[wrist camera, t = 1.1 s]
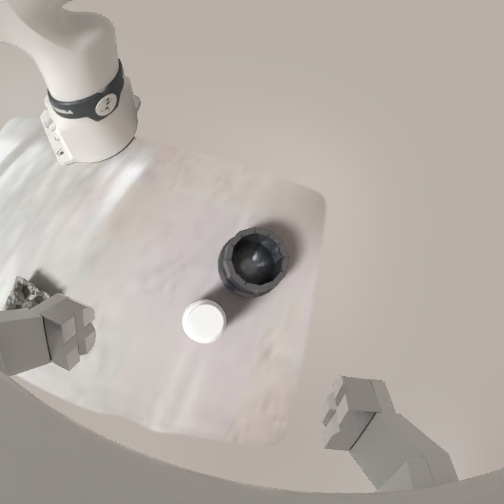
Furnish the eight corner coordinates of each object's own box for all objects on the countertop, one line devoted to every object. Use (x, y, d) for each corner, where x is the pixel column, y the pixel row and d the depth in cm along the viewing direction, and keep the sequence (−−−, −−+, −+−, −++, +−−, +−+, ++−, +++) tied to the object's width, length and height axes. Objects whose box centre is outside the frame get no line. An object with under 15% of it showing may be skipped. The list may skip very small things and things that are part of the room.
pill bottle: (191, 296, 41) (193, 288, 32) (225, 312, 42) (237, 308, 33) (176, 330, 40) (173, 332, 30) (210, 346, 40) (218, 352, 31)
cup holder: (204, 267, 43) (207, 260, 38) (246, 222, 46) (253, 211, 41) (253, 310, 43) (262, 309, 38) (291, 263, 46) (304, 256, 41)
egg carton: (36, 358, 33) (24, 361, 29) (5, 331, 33) (-9, 332, 29) (60, 300, 37) (49, 298, 33) (27, 275, 36) (15, 271, 32)
